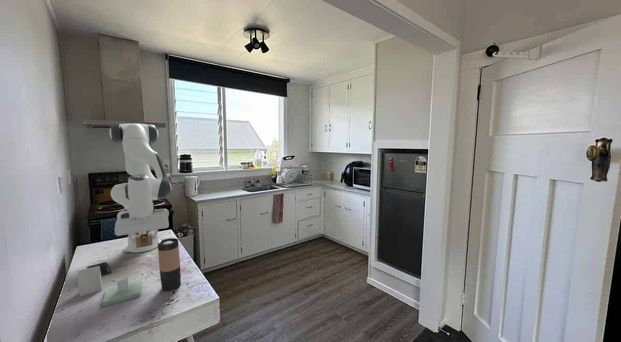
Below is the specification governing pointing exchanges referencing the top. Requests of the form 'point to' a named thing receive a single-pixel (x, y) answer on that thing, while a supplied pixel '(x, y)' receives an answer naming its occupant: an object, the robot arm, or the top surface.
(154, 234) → the robot arm
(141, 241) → the open wooden frame
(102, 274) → the phone
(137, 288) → the base
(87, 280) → the white boxy piece
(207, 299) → the top surface
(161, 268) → the travel mug
